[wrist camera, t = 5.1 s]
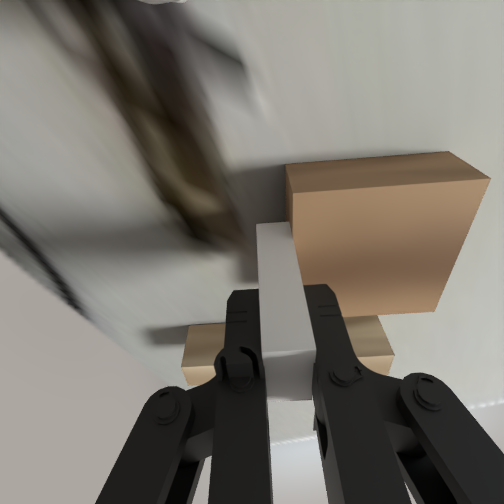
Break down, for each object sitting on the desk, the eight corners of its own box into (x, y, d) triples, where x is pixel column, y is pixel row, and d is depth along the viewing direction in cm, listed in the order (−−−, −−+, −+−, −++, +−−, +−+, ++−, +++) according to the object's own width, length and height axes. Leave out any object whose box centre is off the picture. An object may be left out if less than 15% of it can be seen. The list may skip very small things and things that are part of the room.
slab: (284, 162, 13) (293, 193, 11) (446, 149, 13) (490, 178, 11) (286, 279, 18) (292, 320, 15) (408, 271, 17) (434, 311, 15)
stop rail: (189, 325, 20) (180, 367, 17) (376, 313, 19) (394, 355, 17) (195, 344, 21) (188, 385, 18) (371, 333, 20) (387, 374, 18)
